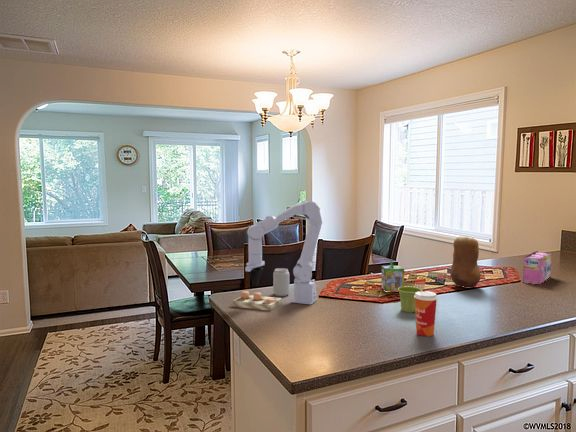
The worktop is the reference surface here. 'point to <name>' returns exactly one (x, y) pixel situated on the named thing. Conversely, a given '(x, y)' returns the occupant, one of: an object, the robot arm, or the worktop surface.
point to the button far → (245, 295)
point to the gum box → (536, 267)
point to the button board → (257, 303)
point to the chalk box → (392, 277)
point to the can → (281, 282)
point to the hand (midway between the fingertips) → (255, 285)
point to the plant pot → (408, 298)
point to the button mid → (257, 296)
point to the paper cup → (425, 312)
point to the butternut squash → (465, 262)
